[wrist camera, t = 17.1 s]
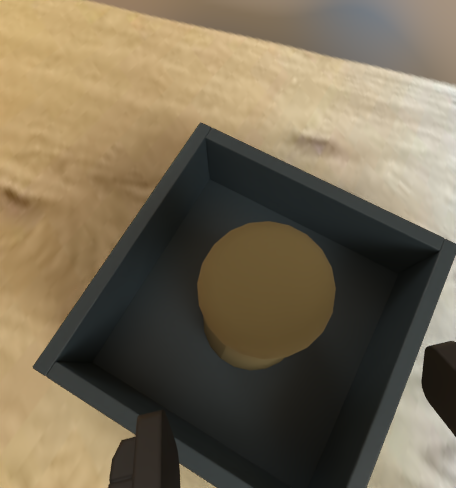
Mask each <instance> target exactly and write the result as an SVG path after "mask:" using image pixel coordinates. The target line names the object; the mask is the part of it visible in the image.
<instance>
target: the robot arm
mask: <svg viewBox="0 0 456 488" xmlns="http://www.w3.org/2000/svg"><path fill="white" fill-rule="evenodd" d="M422 388H423V392H424V394H425V397H426V398H427V400H428V402H429V403H430V405H431V406H432V407H433V408H434V410H435V411H436V412H437V414H438V415H439V416H440V417H441V419H442V420H443V421H444V423H445V424H446V425H447V426H448V428H449V429H450V430H451V431H452V433H453V434H454V435H455V437H456V342H454V341H449V342H445V343H440V344H436V345H432V346H428V347H427V348H426V349H425V354H424V363H423V372H422ZM109 481H110V484H109V487H108V488H180V470H179V457H178V450H177V445H176V442H175V439H174V436H173V433H172V430H171V427H170V424H169V421H168V418H167V415H166V413H165V410H164V409H163V410H159V411H154V412H150V413H146V414H142V415H139V416H138V417H137V423H136V436H135V437H133V438H129V439H125V440H122V441H121V443H120V445H119V447H118V449H117V451H116V453H115V455H114V457H113V459H112V464H111V472H110V479H109Z"/></svg>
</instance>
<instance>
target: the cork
mask: <svg viewBox="0 0 456 488" xmlns="http://www.w3.org/2000/svg"><path fill="white" fill-rule="evenodd" d="M197 288H198V301H199V307H200V309H201V312H202V314H203V321H204V332H205V335H206V337H207V340H208V342H209V344H210V347H211V348H212V349H213V350H214V351H215V352H216V354H217V355H218V356H219V357H220V358H221V359H222V360H224V361H225V362H227V363H229V364H230V365H232V366H234V367H237V368H241V369H246V370H259V369H266V368H268V367H271V366H273V365H275V364H277V363H279V362H281V361H282V360H283V359H284V358H285V357H288V356H290V355H293V354H295V353H297V352H299V351H301V350H303V349H305V348H307V347H308V346H309V345H310V344H311V343H312V342H313V341H315V340H316V339H317V338H318V337H319V336H320V335H321V334H322V333H323V331H324V329H325V327H326V325H327V323H328V321H329V319H330V317H331V315H332V313H333V306H334V298H335V291H336V287H335V281H334V276H333V271H332V267H331V265H330V263H329V261H328V260H327V258H326V256H325V254H324V252H323V250H322V249H321V248H320V247H319V246H318V245H317V244H316V243H315V242H314V241H313V240H312V239H311V238H310V237H309V236H308V235H307V234H305V233H303V232H301V231H299V230H297V229H295V228H293V227H292V226H290V225H286V224H281V223H276V222H271V221H265V222H254V223H248V224H245V225H243V226H241V227H238V228H236V229H233V230H231V231H230V232H228V233H227V234H226V235H225V236H224V237H222V238H221V239H220V240H219V241H218V242H216V243H215V244H214V245H213V247H212V248H211V250H210V252H209V253H208V255H207V256H206V258H205V260H204V261H203V263H202V266H201V270H200V274H199V278H198V282H197Z"/></svg>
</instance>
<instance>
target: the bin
mask: <svg viewBox="0 0 456 488" xmlns="http://www.w3.org/2000/svg"><path fill="white" fill-rule="evenodd" d="M265 221H271V222H276V223H281V224H286V225H290V226H292V227H293V228H295V229H297V230H299V231H301V232H303V233H305V234H307V235H308V236H309V237H310V238H311V239H312V240H313V241H314V242H315V243H316V244H317V245H318V246H319V247H320V248H321V249H322V250H323V252H324V254H325V256H326V258H327V260H328V261H329V263H330V265H331V267H332V271H333V276H334V281H335V287H336V291H335V298H334V306H333V313H332V315H331V317H330V319H329V321H328V323H327V325H326V327H325V329H324V331H323V333H322V334H321V335H320V336H319V337H318V338H317V339H316V340H315V341H313V342H312V343H311V344H310V345H309V346H308V347H307V348H305V349H303V350H301V351H299V352H297V353H295V354H293V355H290V356H288V357H285V358H284V359H283V360H282V361H281V362H279V363H277V364H275V365H273V366H271V367H268V368H266V369H259V370H246V369H241V368H237V367H234V366H232V365H230V364H229V363H227V362H225V361H224V360H222V359H221V358H220V357H219V356H218V355H217V354H216V352H215V351H214V350H213V349H212V348H211V347H210V344H209V342H208V340H207V337H206V335H205V332H204V321H203V314H202V312H201V309H200V307H199V301H198V288H197V282H198V278H199V274H200V270H201V266H202V263H203V261H204V260H205V258H206V256H207V255H208V253H209V252H210V250H211V248H212V247H213V245H214V244H215V243H216V242H218V241H219V240H220V239H221V238H222V237H224V236H225V235H226V234H227V233H228V232H230V231H231V230H233V229H236V228H238V227H241V226H243V225H245V224H248V223H254V222H265ZM455 255H456V244H455V243H453V242H451V241H449V240H447V239H444V238H443V237H441V236H439V235H437V234H435V233H433V232H430V231H428V230H426V229H424V228H422V227H420V226H418V225H416V224H414V223H412V222H409V221H407V220H405V219H403V218H401V217H399V216H397V215H395V214H393V213H390V212H388V211H386V210H384V209H382V208H380V207H378V206H376V205H374V204H372V203H369V202H367V201H365V200H363V199H361V198H359V197H357V196H355V195H353V194H351V193H348V192H346V191H344V190H342V189H340V188H338V187H336V186H334V185H332V184H330V183H327V182H325V181H323V180H321V179H319V178H317V177H315V176H313V175H311V174H308V173H306V172H304V171H302V170H300V169H298V168H296V167H294V166H292V165H290V164H287V163H285V162H283V161H281V160H279V159H277V158H275V157H273V156H271V155H269V154H266V153H264V152H262V151H260V150H258V149H256V148H254V147H252V146H250V145H248V144H245V143H243V142H241V141H239V140H237V139H235V138H233V137H231V136H229V135H227V134H224V133H222V132H220V131H218V130H216V129H214V128H211V127H209V126H207V125H205V124H203V123H201V122H200V124H199V125H198V126H197V128H196V129H195V131H194V132H193V134H192V135H191V137H190V138H189V140H188V141H187V143H186V144H185V145H184V147H183V148H182V150H181V151H180V153H179V154H178V156H177V157H176V159H175V160H174V161H173V163H172V164H171V166H170V167H169V169H168V170H167V172H166V173H165V175H164V176H163V178H162V179H161V180H160V182H159V183H158V185H157V186H156V188H155V189H154V191H153V192H152V194H151V195H150V196H149V198H148V199H147V201H146V202H145V204H144V205H143V207H142V208H141V210H140V211H139V213H138V214H137V215H136V217H135V218H134V220H133V221H132V223H131V224H130V226H129V227H128V229H127V230H126V231H125V233H124V234H123V236H122V237H121V239H120V240H119V242H118V243H117V245H116V246H115V248H114V249H113V250H112V252H111V253H110V255H109V256H108V258H107V259H106V261H105V262H104V264H103V265H102V266H101V268H100V269H99V271H98V272H97V274H96V275H95V277H94V278H93V280H92V281H91V283H90V284H89V285H88V287H87V288H86V290H85V291H84V293H83V294H82V296H81V297H80V299H79V300H78V301H77V303H76V304H75V306H74V307H73V309H72V310H71V312H70V313H69V315H68V316H67V318H66V319H65V320H64V322H63V323H62V325H61V326H60V328H59V329H58V331H57V332H56V334H55V335H54V336H53V338H52V339H51V341H50V342H49V344H48V345H47V347H46V348H45V350H44V351H43V353H42V354H41V355H40V357H39V358H38V360H37V361H36V363H35V364H34V366H33V369H35V370H36V371H38V372H39V373H41V374H43V375H44V376H47V378H49V379H50V380H52V381H53V382H55V383H57V384H58V385H60V386H61V387H63V388H64V389H66V390H67V391H69V392H70V393H72V394H73V395H75V396H77V397H78V398H80V399H81V400H83V401H84V402H86V403H87V404H89V405H90V406H92V407H93V408H95V409H97V410H98V411H100V412H101V413H103V414H104V415H106V416H107V417H109V418H110V419H112V420H114V421H115V422H117V423H118V424H120V425H121V426H123V427H124V428H126V429H127V430H129V431H130V432H132V433H134V434H135V435H136V423H137V417H138V416H139V415H142V414H146V413H150V412H154V411H159V410H163V409H164V410H165V413H166V415H167V418H168V421H169V424H170V427H171V430H172V433H173V436H174V439H175V442H176V445H177V450H178V457H179V463H180V464H181V465H183V466H184V467H186V468H187V469H189V470H191V471H192V472H194V473H195V474H197V475H198V476H200V477H201V478H203V479H204V480H206V481H207V482H209V483H211V484H212V485H214V486H215V487H217V488H366V487H367V485H368V482H369V480H370V477H371V474H372V472H373V469H374V467H375V464H376V461H377V459H378V456H379V453H380V451H381V448H382V446H383V443H384V440H385V438H386V435H387V433H388V430H389V427H390V425H391V422H392V420H393V417H394V414H395V412H396V409H397V406H398V404H399V401H400V399H401V396H402V393H403V391H404V388H405V386H406V383H407V380H408V378H409V375H410V373H411V370H412V367H413V365H414V362H415V360H416V357H417V354H418V352H419V349H420V346H421V344H422V341H423V339H424V336H425V333H426V331H427V328H428V326H429V323H430V320H431V318H432V315H433V313H434V310H435V307H436V305H437V302H438V299H439V297H440V294H441V292H442V289H443V286H444V284H445V281H446V279H447V276H448V273H449V271H450V268H451V266H452V263H453V260H454V258H455Z"/></svg>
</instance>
